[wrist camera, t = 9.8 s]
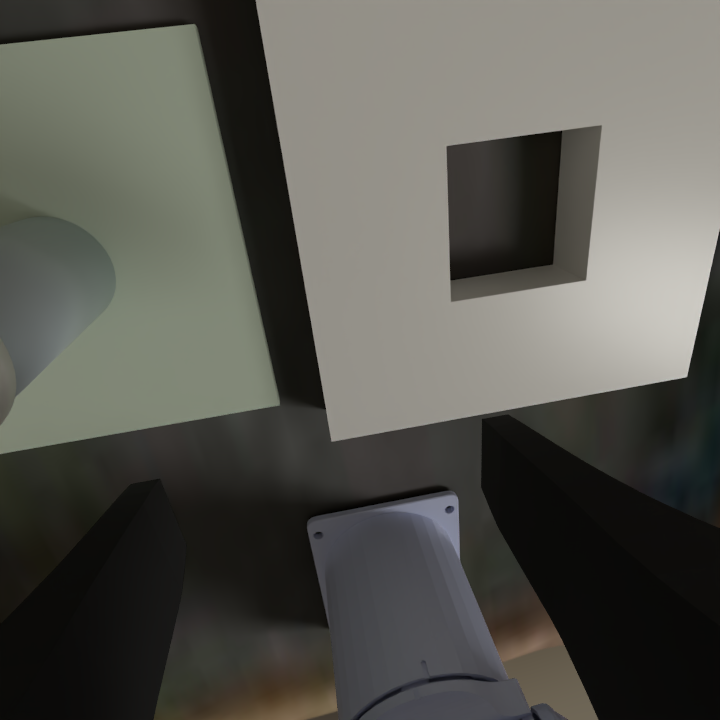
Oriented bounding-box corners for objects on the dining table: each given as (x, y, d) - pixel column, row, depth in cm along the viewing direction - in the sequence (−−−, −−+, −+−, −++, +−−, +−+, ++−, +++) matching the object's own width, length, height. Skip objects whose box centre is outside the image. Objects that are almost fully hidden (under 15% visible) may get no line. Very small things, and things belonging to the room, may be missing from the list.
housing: (647, 353, 23) (686, 377, 21) (326, 410, 22) (331, 441, 20) (721, -65, 16) (792, -98, 14) (253, -18, 15) (247, -46, 13)
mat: (279, 399, 21) (279, 405, 21) (-47, 455, 20) (-55, 463, 20) (197, 27, 15) (194, 23, 15) (-281, 78, 14) (-299, 76, 14)
